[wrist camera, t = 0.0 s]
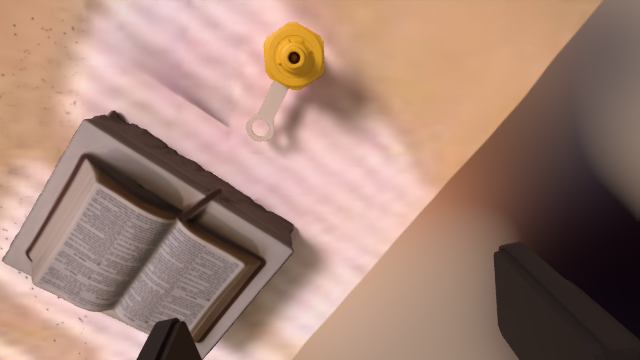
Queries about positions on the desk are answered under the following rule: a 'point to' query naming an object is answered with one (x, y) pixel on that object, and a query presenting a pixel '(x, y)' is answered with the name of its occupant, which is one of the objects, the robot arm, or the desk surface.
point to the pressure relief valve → (288, 69)
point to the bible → (148, 235)
